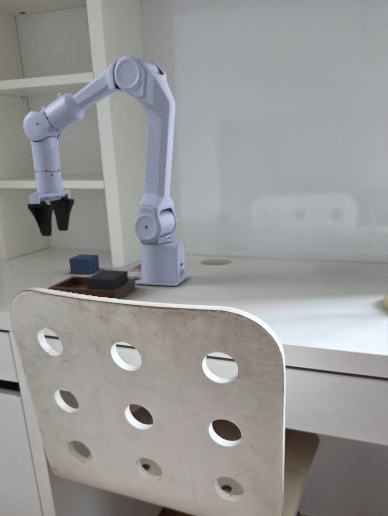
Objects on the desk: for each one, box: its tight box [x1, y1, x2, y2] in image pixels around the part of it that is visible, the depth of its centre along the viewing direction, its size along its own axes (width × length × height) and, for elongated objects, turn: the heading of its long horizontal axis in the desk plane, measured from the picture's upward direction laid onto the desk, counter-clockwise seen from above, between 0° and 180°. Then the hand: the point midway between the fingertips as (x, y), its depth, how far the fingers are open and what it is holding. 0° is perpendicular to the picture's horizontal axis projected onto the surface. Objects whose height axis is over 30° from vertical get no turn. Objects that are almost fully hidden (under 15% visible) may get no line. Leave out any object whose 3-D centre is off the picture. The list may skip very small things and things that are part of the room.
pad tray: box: [48, 275, 136, 300], centre depth 108 cm, size 15×10×2 cm
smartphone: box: [126, 262, 142, 280], centre depth 125 cm, size 7×1×15 cm
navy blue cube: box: [68, 253, 100, 275], centre depth 127 cm, size 5×5×4 cm
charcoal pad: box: [86, 269, 128, 290], centre depth 107 cm, size 6×8×3 cm
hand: (55, 233), depth 122 cm, fingers open, 7 cm apart
